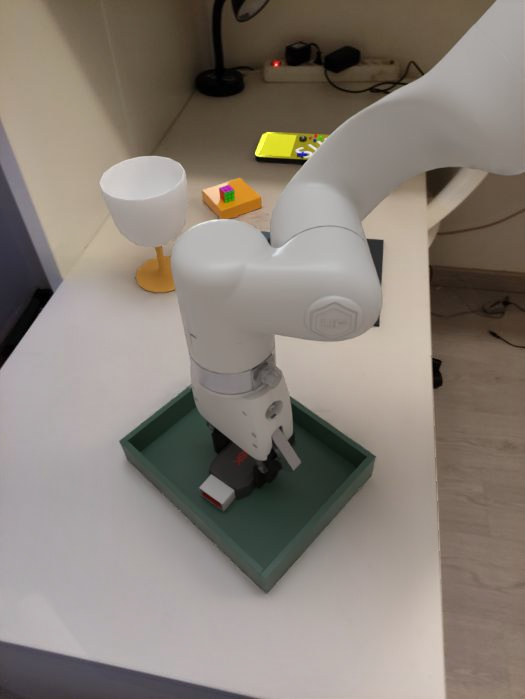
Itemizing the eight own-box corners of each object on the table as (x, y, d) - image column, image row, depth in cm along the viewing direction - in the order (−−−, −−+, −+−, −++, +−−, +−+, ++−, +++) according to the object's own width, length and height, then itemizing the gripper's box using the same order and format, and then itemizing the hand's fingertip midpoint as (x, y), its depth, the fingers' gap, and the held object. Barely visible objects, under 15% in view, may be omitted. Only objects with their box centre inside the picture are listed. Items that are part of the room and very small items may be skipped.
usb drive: (295, 439, 63) (295, 426, 61) (231, 518, 57) (228, 506, 55) (260, 418, 65) (259, 405, 63) (194, 491, 59) (191, 479, 57)
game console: (253, 162, 108) (253, 155, 107) (262, 136, 115) (262, 129, 114) (343, 166, 106) (344, 159, 104) (347, 140, 113) (347, 133, 112)
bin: (372, 474, 60) (376, 456, 57) (266, 594, 52) (265, 579, 49) (232, 373, 71) (229, 353, 68) (126, 459, 63) (118, 440, 60)
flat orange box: (203, 200, 99) (200, 179, 96) (241, 187, 102) (239, 167, 99) (222, 221, 95) (220, 200, 91) (261, 207, 97) (260, 186, 94)
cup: (205, 291, 82) (190, 192, 70) (128, 304, 81) (98, 206, 68) (196, 246, 90) (180, 150, 77) (126, 258, 89) (98, 161, 76)
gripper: (336, 380, 45) (326, 485, 58) (199, 291, 53) (217, 401, 67) (276, 436, 41) (280, 535, 55) (139, 332, 50) (171, 439, 63)
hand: (246, 460), depth 61 cm, fingers closed on usb drive, 5 cm apart
